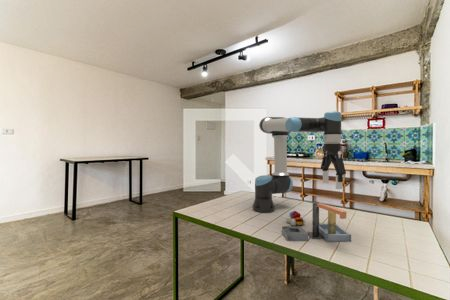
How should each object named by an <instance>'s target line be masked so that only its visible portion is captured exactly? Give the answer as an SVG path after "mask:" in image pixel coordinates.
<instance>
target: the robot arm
mask: <svg viewBox="0 0 450 300" xmlns="http://www.w3.org/2000/svg"><path fill="white" fill-rule="evenodd" d="M323 115H324V116H323V117H297V116H296V117H295V116H291V117H283V116H282V117H281V116H276V117H275V116H266V117H264V118H262V119H261V120H260V122H259V126H258V127H259V129H260V131H261V132H263V133H265V134H269V135H271V137H272V138H273V145H274V146H273V148H274V149H273V150H274V151H273V152H274V153H273V154H274V155H273V157H274V172H273V173H272V175H269V174H266V175H265V174H264V175H260V176H259V175H258V176H257V177H255V179H254V200H253V204H252V210H253V211H254V212H257V213H260V214H261V213H263V214H264V213H265V214H267V213H273V212H275V209H276V208H275V204H274V201H273V195H276V194H286V193H289V192H291V191H292V189H293V188H294V187H293V186H294V182H293V178H292V177H291V176H290V174H289V172H288V159H287V155H288V153H287V151H288V148H287V147H288V146H287V143H288V142H287V138H288V137H289V136H290V135H289V134H291V133H323V142H324V144H323V151H324V152H323V156H322V157H323V158H322V161H321V164H320V169H321V171H322V184H329V181H330V179H329V172H330V170H329V168H330V166H331V164H333V168H334V169H335V172H336V173H335V190H336V189H337V190H343V176H344V175H346V174H347V172H346V171H347V170H346V168H345V164H344V160H343V153H339V152H341V151H342V144H341V142H342V121H343V120H342V113H341V111H336V110H335V111H326V112H324V114H323Z"/></svg>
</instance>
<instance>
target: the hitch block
mask: <svg viewBox="0 0 450 300" xmlns="http://www.w3.org/2000/svg"><path fill="white" fill-rule="evenodd" d="M307 232H308V231H306V230H305V228H303V227H302V225H295V226H293V225H290V226H287V225H286V226H281V233H282V235H283V237H284V238H285V240H286V241H287V242H306V241H307V242H309V235H308V233H307Z"/></svg>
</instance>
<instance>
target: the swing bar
mask: <svg viewBox="0 0 450 300" xmlns="http://www.w3.org/2000/svg"><path fill="white" fill-rule="evenodd" d="M313 206H317V207H319V209H323V210H325V211H327V212H328V211H331V212H333V213H336V215H339V219H341V220H344V219H347V211H346V210H343V209H340V208H337V207H334V206H331V205H328V204H325V203H323V202H319V201H312V207H313Z"/></svg>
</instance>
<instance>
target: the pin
mask: <svg viewBox="0 0 450 300" xmlns="http://www.w3.org/2000/svg"><path fill="white" fill-rule="evenodd" d="M327 224H328V234H336V224H337V214H336V213H333V212H331V211H328V210H327Z"/></svg>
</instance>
